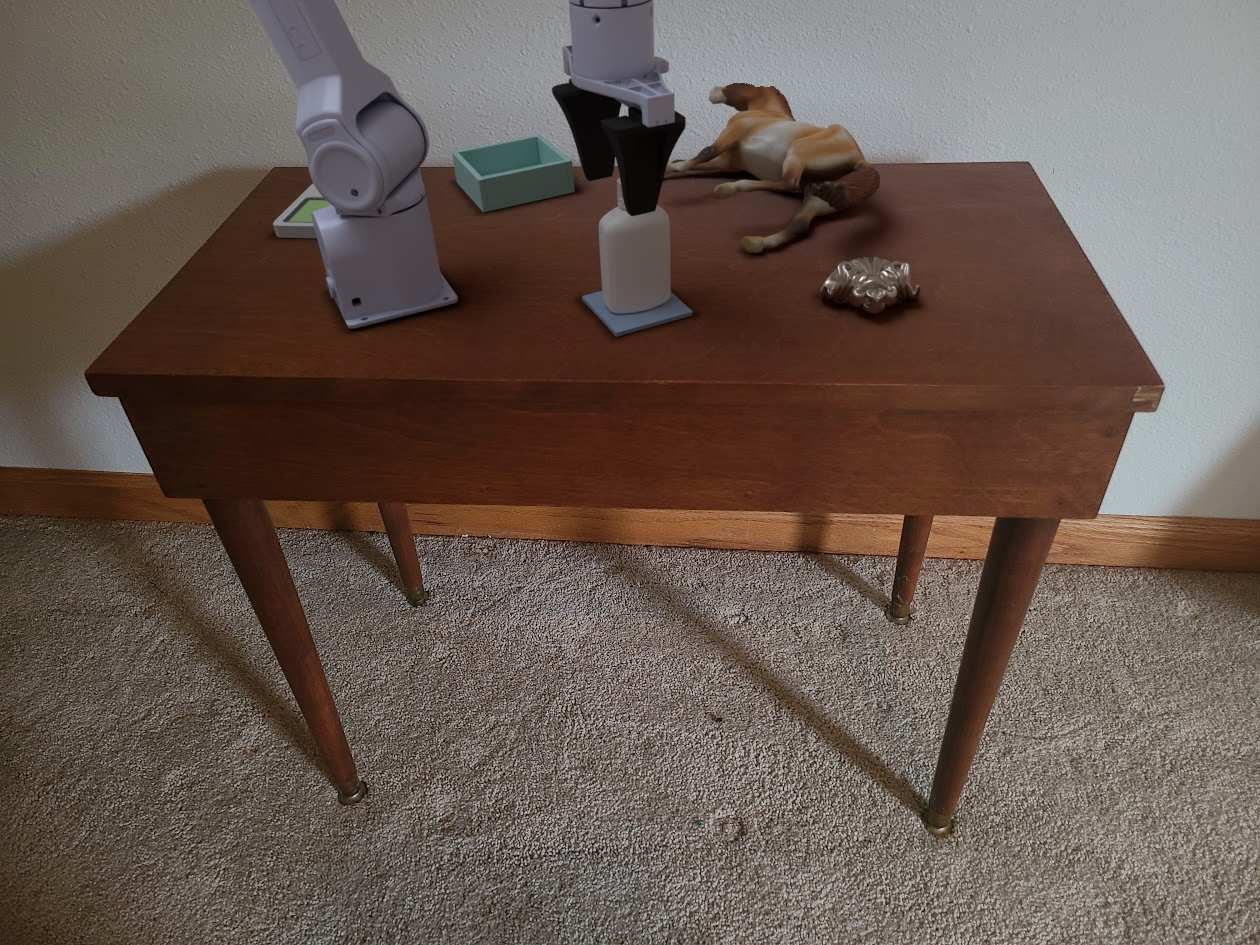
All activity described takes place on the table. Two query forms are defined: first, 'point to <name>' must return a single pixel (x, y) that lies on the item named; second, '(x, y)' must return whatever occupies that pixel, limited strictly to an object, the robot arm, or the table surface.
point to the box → (513, 172)
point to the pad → (636, 314)
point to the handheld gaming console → (300, 215)
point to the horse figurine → (783, 158)
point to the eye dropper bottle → (634, 258)
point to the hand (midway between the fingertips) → (619, 194)
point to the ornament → (870, 283)
